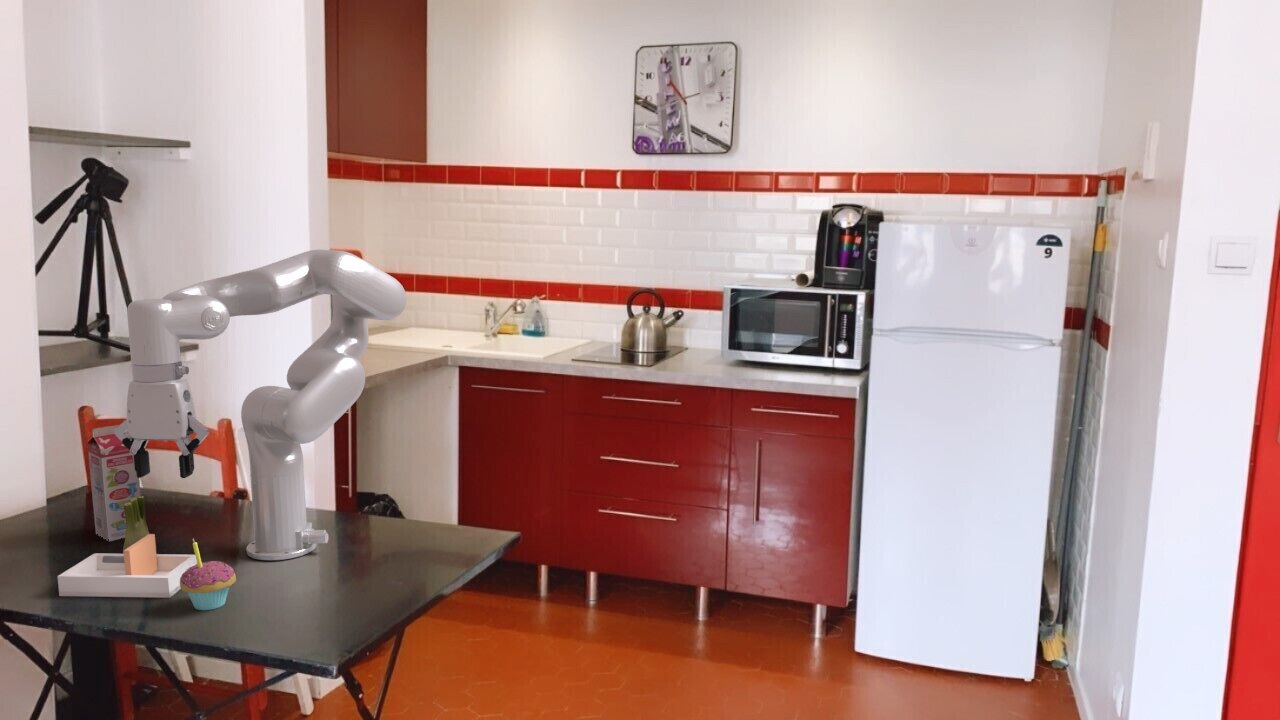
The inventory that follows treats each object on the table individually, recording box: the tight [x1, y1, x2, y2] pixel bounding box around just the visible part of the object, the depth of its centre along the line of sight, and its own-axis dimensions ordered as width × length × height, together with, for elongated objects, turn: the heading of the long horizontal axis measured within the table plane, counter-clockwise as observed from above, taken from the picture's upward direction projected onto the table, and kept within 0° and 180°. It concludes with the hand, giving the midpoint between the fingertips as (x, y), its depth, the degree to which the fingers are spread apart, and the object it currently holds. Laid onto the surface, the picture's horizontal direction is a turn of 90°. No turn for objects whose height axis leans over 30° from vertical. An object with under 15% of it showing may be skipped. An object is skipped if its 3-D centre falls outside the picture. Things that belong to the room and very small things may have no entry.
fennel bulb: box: [122, 495, 150, 554], centre depth 187 cm, size 6×5×12 cm
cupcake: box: [180, 538, 237, 611], centre depth 168 cm, size 9×8×12 cm
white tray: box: [57, 553, 197, 599], centre depth 177 cm, size 19×11×4 cm, turn 88°
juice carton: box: [87, 424, 142, 542], centre depth 202 cm, size 7×7×22 cm
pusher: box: [102, 533, 158, 575], centre depth 176 cm, size 7×8×7 cm
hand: (165, 475), depth 174 cm, fingers open, 6 cm apart
